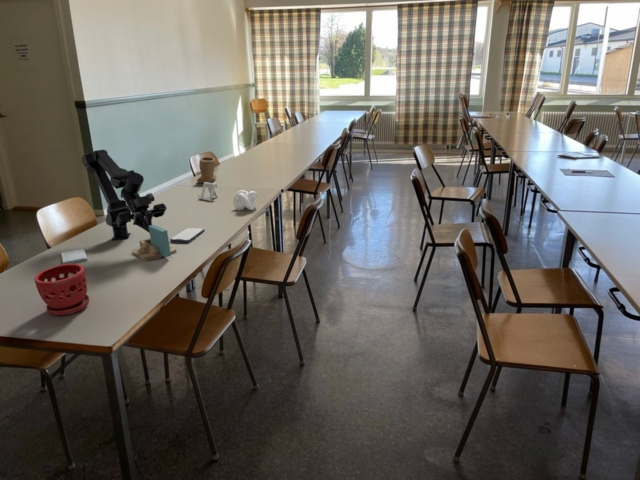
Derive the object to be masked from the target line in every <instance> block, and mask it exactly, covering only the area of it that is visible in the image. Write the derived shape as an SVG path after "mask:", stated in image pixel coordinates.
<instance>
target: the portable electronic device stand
mask: <svg viewBox="0 0 640 480" xmlns="http://www.w3.org/2000/svg"><path fill="white" fill-rule="evenodd" d="M218 185H219V184H217V183H212V182H204V183H203V185H202V190H201V194H200V195H198V197H197V199H198V200H201V199H202V201H207V202H212V201H213V198H216V199H218V194H217V193H216V191H215V189H217V188H218ZM206 188H207V190H208V193H209V196H205V192H206ZM204 196H205V197H204Z"/></svg>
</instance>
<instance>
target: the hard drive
mask: <svg viewBox="0 0 640 480" xmlns="http://www.w3.org/2000/svg"><path fill="white" fill-rule="evenodd" d="M60 256H61V260H62V265H63V264H78V263H81V262H87V261H89V259H88V257H87V254H86V251H85V248H77V249H72V250H67V251H62V252H60Z"/></svg>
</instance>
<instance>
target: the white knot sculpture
mask: <svg viewBox="0 0 640 480" xmlns="http://www.w3.org/2000/svg"><path fill="white" fill-rule="evenodd" d="M257 199H258V194H257V192H256V191H255V190H251V191H249V192H248V191H246V190H245V189H240V190H238V191H237V192H236V193H235V194H234V196H233V200H232V201H233V202H232V204H233V207H234V208H235V209H236V210H238V211H242V210H245V208H246V209H248V210H249V211H253V210H255V203H256V201H257Z"/></svg>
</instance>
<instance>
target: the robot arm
mask: <svg viewBox="0 0 640 480" xmlns="http://www.w3.org/2000/svg"><path fill="white" fill-rule="evenodd" d="M80 161H81V163H82V165H83V166H84V167H85V169H86V171H87V172H89V173H91V174H93V176H94V178H95V180H96V182H97V184H98V187H99V189H100V191H101V193H102V195H103V197H104V199H105V201H106V204H107V209H106V213H107V214H106V217H105V223H106V225H107V226H109V227H111V229H112V234H113V236H112V237H111V240H112V241H113V240H114V241H115V240H127V239H129V237H130V236H131V235H132V234H131V232H129V231H128V226H127V224H128V223H131V221H133V223H132V224H133V226H137V227H139V228H141V229H143V230H144V231H146V232H147V233H149V234H150V232H149V226H151V225H153V223H152V222H153V221H152V220H153V218H160V217H163V216H164V215H165V212H166V211H167V208H168V207H167V206H166V204H165V203H163V202H161V203H157V204H154V205H153V207H152V208H151V209H149V208H150V204H151V205H152V202H154V201H155V197H154V195H153V193H152V192H150V193H147V194H145V195H143V196H141V195H140V193H139V192H140V191H141V189H142V186H143V184H144V183H143V182H144V176H143V175H142V174H141V173H138V172H135V170H133V169H131V170H127V169H126V168H121V167H120V166H119V165H118V164H117V163H116V162H115V160H114V159H113V158H112V157H111V156H110V155H109V152H108V151H107V149H98V150H94V151H92V152H88V153H84V154H83V156H81V160H80ZM115 189H116V190H118V189H121V191H120V198H121V199H122V198H123V199H122V200H121V199H120V198H119V196H118V194H117V192H116V190H115Z"/></svg>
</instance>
